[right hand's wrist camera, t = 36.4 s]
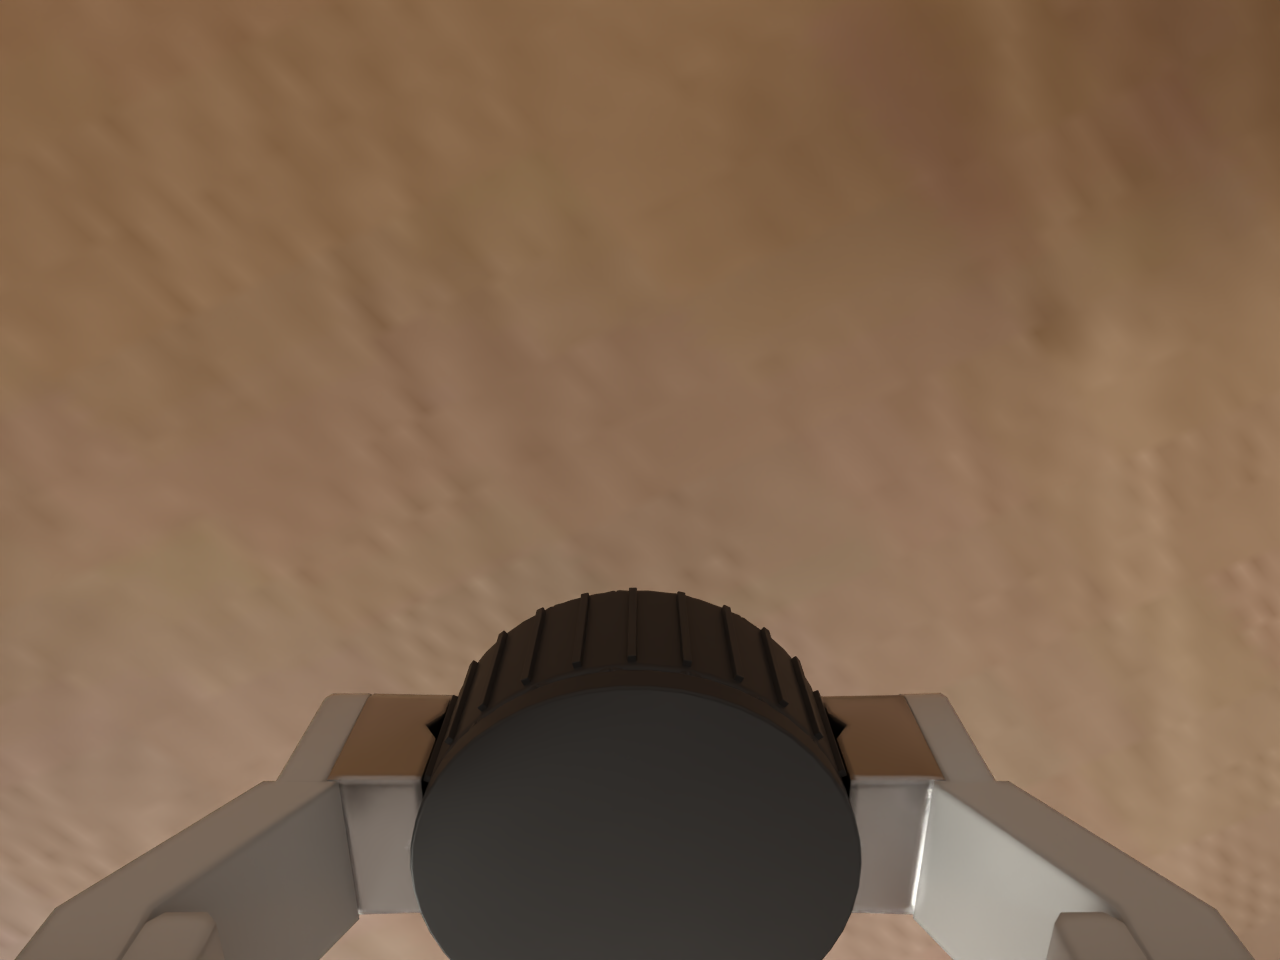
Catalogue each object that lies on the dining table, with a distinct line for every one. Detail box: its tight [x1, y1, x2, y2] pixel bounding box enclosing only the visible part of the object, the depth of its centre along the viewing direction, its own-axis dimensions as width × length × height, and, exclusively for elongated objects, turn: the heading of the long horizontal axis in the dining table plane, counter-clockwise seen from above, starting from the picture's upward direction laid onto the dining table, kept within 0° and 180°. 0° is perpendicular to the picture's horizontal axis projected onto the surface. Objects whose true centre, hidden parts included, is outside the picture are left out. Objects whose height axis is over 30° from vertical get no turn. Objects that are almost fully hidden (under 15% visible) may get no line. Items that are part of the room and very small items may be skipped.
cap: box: [410, 588, 862, 960], centre depth 9 cm, size 5×5×2 cm
